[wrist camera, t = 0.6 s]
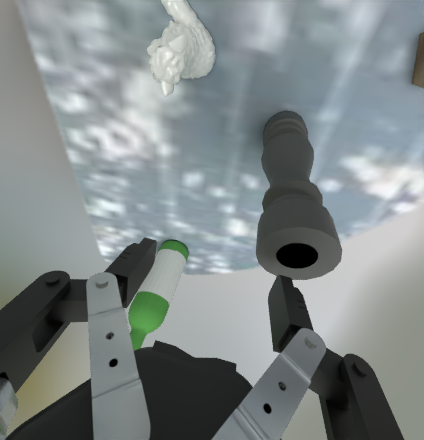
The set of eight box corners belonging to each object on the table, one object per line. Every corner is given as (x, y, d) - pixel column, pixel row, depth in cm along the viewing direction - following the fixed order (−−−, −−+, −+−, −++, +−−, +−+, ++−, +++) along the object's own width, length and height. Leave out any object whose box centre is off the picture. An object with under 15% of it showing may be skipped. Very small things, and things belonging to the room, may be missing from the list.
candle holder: (314, 131, 32) (366, 263, 14) (281, 158, 36) (288, 290, 18) (287, 101, 31) (308, 207, 12) (255, 133, 34) (235, 250, 16)
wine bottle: (162, 235, 56) (91, 366, 34) (190, 243, 56) (137, 380, 34) (162, 253, 62) (101, 377, 40) (188, 260, 61) (141, 389, 39)
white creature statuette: (167, -22, 25) (111, -48, 16) (232, 17, 26) (212, 11, 17) (152, 68, 32) (105, 83, 23) (205, 96, 33) (179, 121, 24)
